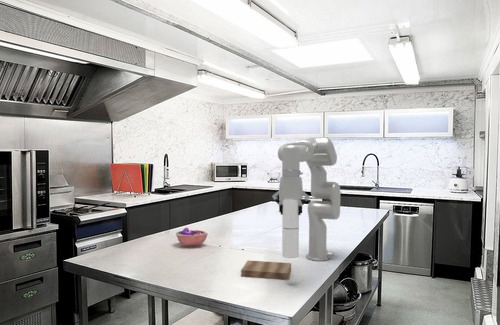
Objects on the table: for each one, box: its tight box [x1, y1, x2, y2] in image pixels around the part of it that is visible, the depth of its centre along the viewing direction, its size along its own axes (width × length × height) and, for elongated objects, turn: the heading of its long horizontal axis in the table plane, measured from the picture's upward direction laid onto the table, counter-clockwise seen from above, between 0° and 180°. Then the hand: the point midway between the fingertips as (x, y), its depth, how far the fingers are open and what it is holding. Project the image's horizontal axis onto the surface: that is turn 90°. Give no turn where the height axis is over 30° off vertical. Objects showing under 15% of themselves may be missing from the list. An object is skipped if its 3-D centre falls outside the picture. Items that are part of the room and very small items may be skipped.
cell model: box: [175, 227, 209, 247], centre depth 221 cm, size 17×20×11 cm
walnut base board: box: [240, 260, 292, 281], centre depth 171 cm, size 22×16×3 cm
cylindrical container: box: [281, 199, 300, 259], centre depth 155 cm, size 7×7×25 cm
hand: (290, 214), depth 155 cm, fingers closed on cylindrical container, 7 cm apart
